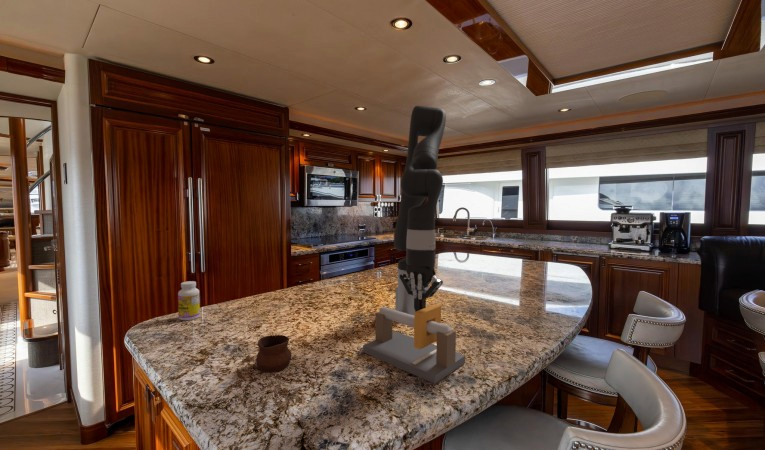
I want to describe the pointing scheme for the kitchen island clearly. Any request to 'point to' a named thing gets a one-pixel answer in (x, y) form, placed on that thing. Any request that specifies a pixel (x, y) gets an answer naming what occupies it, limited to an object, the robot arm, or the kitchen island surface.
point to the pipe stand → (405, 356)
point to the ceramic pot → (272, 354)
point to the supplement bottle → (188, 301)
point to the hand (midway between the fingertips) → (419, 312)
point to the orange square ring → (425, 325)
